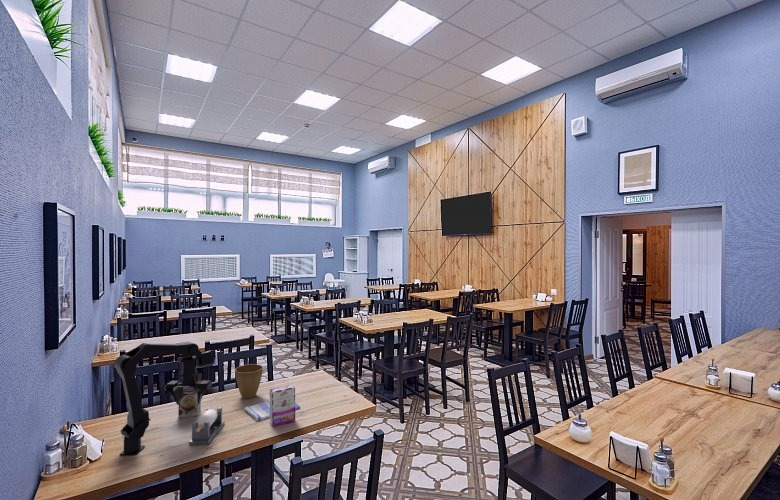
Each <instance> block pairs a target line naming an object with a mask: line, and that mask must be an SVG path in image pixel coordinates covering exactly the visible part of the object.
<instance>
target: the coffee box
mask: <svg viewBox="0 0 780 500" xmlns="http://www.w3.org/2000/svg"><path fill="white" fill-rule="evenodd" d="M201 382H202V380H201V381H198V382H196V383H201ZM180 383H182V381H180ZM198 390H199V389H198V388H180V391H179V397H180V402H179V405H178V411H177V412H178V413H177V414H178V416H177V418H188V417H189V418H190V417H198V416H199V415H200V414H201V411H202V409H201V408H202V407H201V405H202V403H201V402H202V401H201V402H200V404H199V405H198V400H197V391H198Z"/></svg>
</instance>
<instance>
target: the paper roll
mask: <svg viewBox="0 0 780 500" xmlns="http://www.w3.org/2000/svg"><path fill="white" fill-rule="evenodd" d="M216 419H217V410H215V409H213V408H211V409H209V410H207V411H206V410H205V411H204V412H203V414H202V415H201V416H200V417H199V418H197V420H196V421H195V422H198V428H197V429H196V432H199V431H200V430H204V423H205V422H210V426H211V425H212V424H213V422H214V421H215V420H216Z"/></svg>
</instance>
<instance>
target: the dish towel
mask: <svg viewBox="0 0 780 500" xmlns="http://www.w3.org/2000/svg"><path fill="white" fill-rule="evenodd" d="M300 409H301V406H300V405H299V404H297V403H296V402H295V411H297V410H300ZM244 410H245V412H246V413H247V414H248V415H249V416H250V417H252V418H253V419H254V420H255V421H256V422H259V421H263V420H267V419H270V400H269V401H264V402H260V403H257V404H254V405H250V406H249V405H246V406H245V407H244Z"/></svg>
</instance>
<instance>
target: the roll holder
mask: <svg viewBox="0 0 780 500" xmlns="http://www.w3.org/2000/svg"><path fill="white" fill-rule="evenodd" d="M209 409H212V407H206V408H205V412H206V411H207V410H209ZM216 412H217V419H216V420H215V421H214V422H213V424H212V425H211V426H210V422H205V423H204V430H200V431H199V432H196V429H197V428H198V422H196V421H194V422H193V423H191V439H190V440H189V441H188V446H189V447H190V446H207V445H209V446H210V444H211V442H212V441H213V440H214V438H216V436H217V434H218V433H219V432H220V430H221V429H223V426H224V425H225V420H223V407H220V406H219V407H217V408H216Z"/></svg>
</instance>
